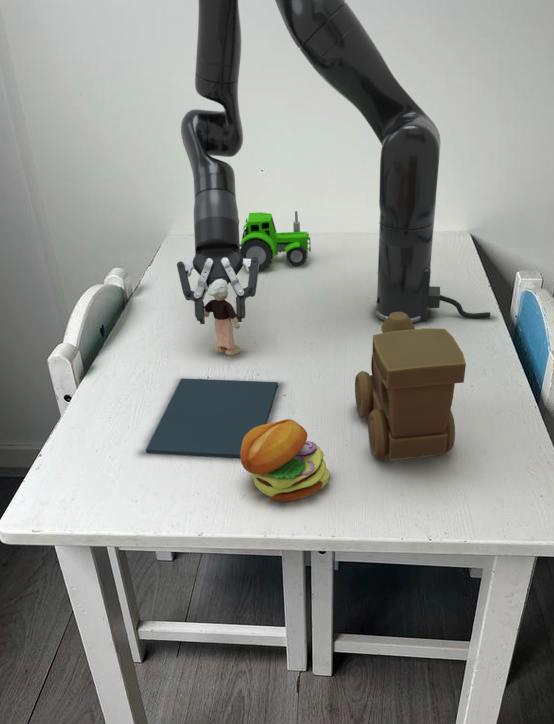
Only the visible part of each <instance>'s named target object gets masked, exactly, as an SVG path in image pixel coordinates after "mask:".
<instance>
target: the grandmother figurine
mask: <svg viewBox="0 0 554 724" xmlns="http://www.w3.org/2000/svg"><path fill="white" fill-rule="evenodd" d="M228 286H229V284H227V282H226V281H225V280H223V279H218V280H215V281H214V282H213V283H212V284H211V285H210V286H209V289H208V291H207V293H208V295H209V296H211V297H213V299H210V300H209V301H208V302H207V303H206V304H204V314H205V318H209V317H210V314H211V313H212V316H213V318H214V333H215V339H216V345H217V346H216V348H215V351H216V352H217V353H222V352H225V354H226V355H227V356H233V355H236V354H240V352H241V351H242V349H241V348H240V346H239V345H236V343H235V337H234V329H240V327H241V325H240V322H238V319H237V312H236V310H235V309H234V307H233V305H232V303H231V302H229V301H228V300H226V299H227V298H228V297H229V287H228ZM233 328H234V329H233Z"/></svg>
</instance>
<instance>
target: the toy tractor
mask: <svg viewBox="0 0 554 724" xmlns="http://www.w3.org/2000/svg"><path fill="white" fill-rule="evenodd" d="M298 215H299V214H298V211H294V221H293V223H292V225H293V227H292V228H293V231H286V232H277V229H276V225H275V221H274V218H273V214H272V213H268V212H262V211H261V212H249V213H248V217H247V218H245V224H244V225H243V228H242V236H241V239H240V254H241V256H242V257H243V258H245V259H252V258H253V257H256V258H258V262H259V271H258V273H260V272H261V271H265V270H266V269H268V268H269V267H270V265H271V264H272V261H273V258H274V256H276V255H278V254H279V253H285V254H286V256H285V258H286V262H288V265H290V266H292V267H300V266H302V265H304V264H305V263H306V261H307V258H308V253H309V252H310V253H311V252H312V246H311V245H312V243H311V236H310V234H309V233H308V231H301V223H300V221H299V219H298V218H299V217H298ZM243 267H244V268H245V269H246V267H245V266H243Z"/></svg>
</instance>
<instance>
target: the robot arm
mask: <svg viewBox="0 0 554 724" xmlns="http://www.w3.org/2000/svg"><path fill="white" fill-rule="evenodd" d="M274 2H275V4H276V6H277V9H278V12H279V14H280V17H281V19H282V21H283V23H284V25H285V28H286V30H287V32H288V34H289V36H290V38H291V39H292V41H293V42H294V44H295V45H296V47H297V48H298V49H299V51H300V52H301V53H302V55H303V56H304V57H305V59H306V60H307V61H308V63H309V64H310V65H311V66H312V68H313V69H314V71H315V72H316V73H317V74H318V75H319V76H320V78H322V79H323V80H324V81H325V83H327V84H328V85H329V86H330V87H331V88H332V89H333V90H334V91H336V93H338V94H339V95H341V96H342V97H343V98H344V99H345V100H346V101H347V102H349V103H350V104H352V105H353V106H354V107H355V108H356V109H357V111H358V112H359V113H360V114H361V115H362V117H363V118H364V120H365V121H366V122H367V124H368V125H369V127H370V128H371V129H372V131H373V133H374V135H375V136H376V138H377V139H378V141H379V143H380V144H381V149H380V157H379V158H380V160H379V191H378V192H379V195H378V196H379V198H378V205H379V228H378V229H379V231H378V259H377V260H378V261H377V286H376V287H377V290H376V306H375V315H376V316H377V318H378V319H380V320H382V321H383V322H385V321H386V319H387V318H388V316H389V315H390V314H391V313H393V312H403V313H405V314H407V315H408V317H409V318H410V320H411V321H412V323H413V324H415V323H418V322H426V321H427V320H428V310H429V309H440V303H441V302H443V303H448V304H450V305H452V306H454V307H455V308H456V310H457V312H458V314H459V315H460V316H462V317H463V318H467V319H483V318H491V312H489V311H488V312H487V311H486V312H478V313H477V312H475V313H470V312H467V311H465V310H464V308H463V306H462V303H460V302H458V301H457V300H456V299H453V298H452V297H448V296H445V295H442V294H441V286H435V285H434V286H433V285H431V286H430V284H431V272H432V265H431V263H432V253H433V241H434V240H433V239H434V226H435V216H436V205H437V190H438V180H439V179H438V178H439V165H440V155H441V154H440V152H441V135H440V132H439V129H438V127H437V126H436V124H435V122H434V121H433V120H432V119H431V117H430V116H428V114H427V113H425V111H424V110H423V109H422V108H421V106H419V104H418V103H416V101H415V100H414V99H413V98H412V97H411V95H410V94H409V93H408V92H407V91H406V89H404V88H403V86H402V85H401V84H400V82H399V81H398V80H397V79H396V77H395V76H394V74H393V73H392V71H391V69H390V68H389V66H388V64H387V63H386V61H385V58H384V57H383V55H382V53H381V52H380V50H379V49H378V48H377V46H376V44H375V43H374V41H373V40H372V38H371V37H370V35H369V33H368V32H367V31H366V29H365V27H364V26H363V24H362V23H361V20H359V18H358V16H357V15H356V14H355V12H354V11H353V10H352V8H351V7H350V5H349V4H348V3H347V2H346V0H274ZM197 17H198V21H197V38H196V39H197V41H196V57H195V58H196V59H195V73H194V88H195V92H196V93H197V94H198V95H199V96H200V97H202V98H204V99H207V100H209V101H212V102H215V103H217V104H219V105H220V106H221V107H222V108H223V110H222V111H220V110H211V109H209V110H208V109H206V110H205V109H197V108H196V109H189V110H188V111H186V113H185V114H184V116H183V117H182V120H181V123H180V135H181V140H182V144H183V147H184V149H185V153H186V155H187V159H188V161H189V164H190V168H191V172H192V177H193V188H194V189H193V193H194V203H193V231H194V249H195V250H194V257H193V259H192V261H189V262H183V261H182V260H181V261H178V262H177V263H176V268H177V272H178V277H179V282H180V285H181V290H182V294H183V297H184V298H185V300H187V301H192V302H193V303H194V304H193V305H194V316H195V319H196V321H197V322H199V324H200V325H205V324H206V317H205V314H204V310H205V309H204V306H205V302H204V298H205V296H206V294H207V293H208V291H209V288H210V286H211V284H212V283H213V282H214V281H215V280H218V279H223V280H225V281H226V282H227V284H228V285H229V284H230V286H231V288H232V290H233V292H234V294H235V295H236V296H235V308H236V309H235V312H236V314H237V319H238V323H242V322H243V319H245V318H246V316H247V314H246V312H247V311H246V300H247V299H248V298H253V297H255V296H256V294H257V286H258V277H259V272H258V271H259V262H258V258H256V257H253V258H252V259H245V258H243V257H242V256H241V254H240V249H241V247H240V244H241V240H240V218H239V210H238V204H237V192H236V175H235V170H234V168H233V167H232V166H231V164H229V163H227V162H226V161H223V160H221V159H218V158H215V157H221V158H232V157H236V155H237V154H238V153H239V152H240V151H241V149H242V147H243V144H244V131H243V130H244V129H243V124H242V117H241V114H240V113H241V112H240V105H239V77H240V68H241V58H242V57H241V56H242V29H241V28H242V26H241V17H240V8H239V0H198V16H197ZM244 266H245V267H246V268H245V267H244ZM243 267H244V268H245V270H246V272H247V273H249V274H248V280H247V281H248V282H247V286H246V287H244V288H243V286H242V285H241V282H240V280H239V278H238V276H237V275H238V274H239V272H240V271H241V270H242V268H243ZM193 270H195V271H196V272H197V273H198V275H199V278H198V281H197V285H196V287H195V290H192V289H191V285H190V281H189V277H191V276H192V271H193Z"/></svg>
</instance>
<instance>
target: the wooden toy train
mask: <svg viewBox="0 0 554 724" xmlns="http://www.w3.org/2000/svg"><path fill="white" fill-rule="evenodd" d="M370 358H371V359H370V361H371V362H370V363H371V364H370V370H371V374H370V373H369V372H367V371H364V370H361V371H359V372H358V373H357V374H356V376H355V378H354V395H355V396H354V397H355V405H356V410H357V413H358V415H359V417H361V418H363V419H365V420H367V419H368V421H367V430H368V431H367V432H368V442H369V448H370V451H371V454H372V456H373V457H374V458H375V459H376V460H380V461H382V460H385V459H386V458H387V457H388V458H389V460H390V461H393V460H394V461H395V460H404V459H405V460H406V459H414V458H424V457H425V458H426V457H434V456H435V457H436V456H442V455H443V456H444V455H446V454H447V453H449V452H450V451H451V450H453V447H454V445H455V441H456V425H455V419H454V414H453V411H452V405H453V400H454V393H455V386H456V385H455V384H463V383H465V376H466V368H467V367H466V366H467V363H466V359H465V356H464V353H463V350H462V349H461V347H460V346H459V344H458V342H457V341H456V339H455V338H454V336H453V335H452V334H451V333H450V332H449V331H448V330H447V329H445V328H425V327H424V328H423V327H422V328H416V327H415V323H412V321H411V320H410V318H409V317H408V315H407V314H405V313H403V312H393V313H391V314H390V315H389V316H388V318H387V319H386V321H383V323H382V325H381V333H377V334H373V335H372V354H371V357H370Z"/></svg>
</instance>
